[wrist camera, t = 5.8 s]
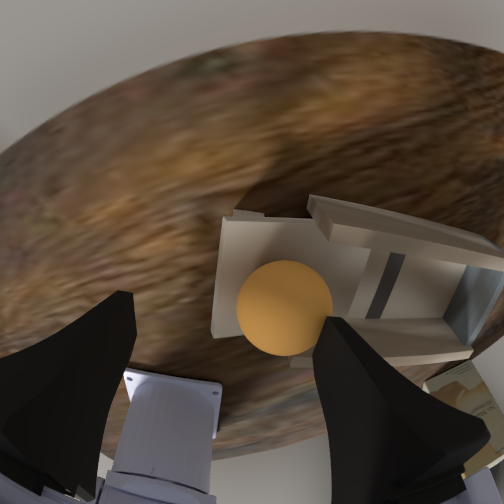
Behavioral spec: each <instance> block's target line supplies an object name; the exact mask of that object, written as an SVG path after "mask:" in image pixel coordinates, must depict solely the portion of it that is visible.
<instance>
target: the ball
mask: <svg viewBox="0 0 504 504" xmlns="http://www.w3.org/2000/svg"><path fill="white" fill-rule="evenodd" d="M236 311H237V318H238V322H239V325H240V328H241V330H242V332H243V333H244V335H245V336H246V338H247V339H248V340H249V341H250V342H251V343H252V344H253V345H254V346H256V347H257V348H258V349H260V350H262V351H264V352H266V353H269V354H273V355H279V356H290V355H295V354H299V353H302V352H304V351H306V350H308V349H310V348H311V347H313V346H314V345H315V344H316V343H317V340H318V338H319V335H320V333H321V330H322V327H323V325H324V322H325V319H326V317H327V316H332V311H333V306H332V297H331V294H330V291H329V288H328V286H327V284H326V283H325V281H324V280H323V279H322V277H321V276H320V275H319V274H318V273H317V272H316V271H315V270H313V269H312V268H310V267H308V266H307V265H305V264H302V263H299V262H295V261H289V260H281V261H274V262H271V263H268V264H265V265H263V266H261V267H260V268H258V269H257V270H255V271H254V272H253V273H252V274H251V275H250V276H249V277H248V278H247V279H246V281H245V282H244V284H243V285H242V287H241V289H240V292H239V295H238V298H237V307H236Z"/></svg>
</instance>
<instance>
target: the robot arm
mask: <svg viewBox="0 0 504 504" xmlns="http://www.w3.org/2000/svg"><path fill="white" fill-rule="evenodd" d="M136 336H137V330H136V321H135V311H134V300H133V293H131V292H125V291H119V290H118V291H116V292H115V293H113V294H112V295H110V296H109V297H108V298H106V299H105V300H104V301H102V302H101V303H99V304H98V305H97V306H95V307H94V308H93V309H91V310H90V311H88V312H87V313H86V314H84V315H83V316H81V317H80V318H78V319H77V320H75V321H74V322H72V323H71V324H69V325H68V326H66V327H65V328H63V329H62V330H60V331H58V332H57V333H55V334H53V335H52V336H50V337H48V338H46V339H44V340H42V341H41V342H39V343H37V344H35V345H32V346H30V347H28V348H25V349H23V350H21V351H19V352H16V353H14V354H11V355H8V356H6V357H3V358H0V504H216V496H213V495H209V489H210V472H211V456H212V440H213V439H214V438H215V437H216V431H217V424H218V417H219V410H220V403H221V396H222V385H221V384H220V383H217V382H208V381H200V380H193V379H186V378H180V377H173V376H167V375H162V374H156V373H151V372H146V371H141V370H136V369H131V368H126V367H127V364H128V362H129V360H130V357H131V354H132V351H133V347H134V344H135V340H136ZM312 359H313V369H314V377H315V381H316V385H317V389H318V393H319V397H320V401H321V405H322V409H323V413H324V417H325V421H326V425H327V431H328V438H329V447H330V457H331V471H332V473H331V474H332V502H331V504H503V503H502V500H501V498H500V495H499V492H498V489H497V487H496V484H495V482H494V479H493V478H492V475H491V472H490V470H489V467H484V468H483V469H481V470H479V471H477V472H476V473H474V474H472V475H470V476H468V477H467V478H465V479H464V480H463V478H462V475H461V474H463V473H464V472H465V467H464V465H463V464H464V463H465V462H467V461H468V460H469V459H470V458H472V457H473V456H474V455H475V454H476V453H478V452H479V451H480V450H481V449H482V448H483V447H484V446H485V445H486V444H487V443H488V442H489V440H490V438H491V434H490V432H489V430H488V428H487V426H486V424H485V422H484V421H483V419H482V418H479V417H476V416H474V415H471V414H468V413H466V412H463V411H461V410H458V409H456V408H454V407H452V406H450V405H448V404H446V403H444V402H442V401H440V400H439V399H437V398H435V397H433V396H432V395H430V394H429V393H427V392H425V391H424V390H422V389H421V388H419V387H418V386H416V385H415V384H414V383H412V382H411V381H410V380H408V379H407V378H406V377H404V376H403V375H402V374H400V373H399V372H398V371H397V370H396V369H395V368H393V367H392V366H391V365H390V364H389V363H388V362H387V361H386V360H384V359H383V358H382V357H381V356H380V355H379V354H378V353H377V352H376V351H375V350H374V349H373V348H372V347H371V346H370V345H369V344H368V343H367V342H366V341H365V340H364V339H363V338H362V337H361V336H360V335H359V334H358V333H357V332H356V331H355V330H354V329H353V328H352V327H351V326H350V325H349V324H348V323H347V322H346V321H345V320H344V319H343V318H342V317H333V316H327V317H326V319H325V322H324V325H323V327H322V330H321V333H320V335H319V338H318V340H317V343H316V346H315V348H314V351H313V353H312ZM123 375H124V379H125V383H126V387H127V391H128V394H129V398H130V402H131V403H130V406H129V409H128V413H127V416H126V419H125V423H124V426H123V430H122V433H121V437H120V440H119V444H118V447H117V451H116V455H115V459H114V463H113V466H112V470H108V471H107V475H106V479H104V478H101V477H97V470H98V462H99V455H100V449H101V444H102V439H103V434H104V429H105V425H106V421H107V417H108V413H109V409H110V406H111V404H112V401H113V398H114V396H115V393H116V391H117V388H118V386H119V384H120V381H121V379H122V376H123ZM65 494H66V495H68V496H71V497H73V498H77V499H79V500H80V501H78V500H76V499H73V498H71V497H68V496H66V495H65Z"/></svg>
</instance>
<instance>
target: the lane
mask: <svg viewBox="0 0 504 504" xmlns="http://www.w3.org/2000/svg"><path fill="white" fill-rule="evenodd" d="M306 209H307V210H308V212H309V213H310V215H311V216H312V218H313V219H305V218H280V217H264V213H259V212H252V211H245V210H237V209H233V216H223V220H222V228H221V237H220V245H219V254H218V263H217V272H216V281H215V291H214V300H213V311H212V321H211V333H212V336H213V339H215V338H224V337H232V336H240V335H244V333H243V332H242V330H241V328H240V325H239V322H238V318H237V311H236V307H237V298H238V295H239V292H240V289H241V287H242V285H243V284H244V282H245V281H246V279H247V278H248V277H249V276H250V275H251V274H252V273H253V272H254V271H255V270H257V269H258V268H260V267H261V266H263V265H265V264H268V263H271V262H274V261H281V260H289V261H295V262H299V263H302V264H305V265H307V266H308V267H310V268H312V269H313V270H315V271H316V272H317V273H318V274H319V275H320V276H321V277H322V279H323V280H324V281H325V283H326V284H327V286H328V288H329V291H330V294H331V297H332V306H333V311H332V316H333V317H342V318H343V319H344V320H345V321H346V322H347V323H348V324H349V325H350V326H351V327H352V328H353V329H354V330H355V331H356V332H357V333H358V334H359V335H360V336H361V337H362V338H363V339H364V340H365V341H366V342H367V343H368V344H369V345H370V346H371V347H372V348H373V349H374V350H375V351H376V352H377V353H378V354H379V355H380V356H381V357H382V358H383V359H384V360H386V361H387V362H388V363H389V364H390V365H391V366H407V365H419V364H429V363H438V362H447V361H454V360H462V359H468V358H469V357H470V355H471V354H472V352H473V351H474V350H473V348H472V347H471V345H472V343H473V341H474V340H475V338H476V337H477V335H478V333H479V332H480V330H481V328H482V326H483V325H484V323H485V321H486V319H487V318H488V316H489V314H490V312H491V310H492V308H493V306H494V304H495V302H496V300H497V298H498V296H499V294H500V292H501V290H502V288H503V286H504V251H503V250H502V249H501V248H499V247H498V246H496V245H495V244H493V243H492V242H491V241H489V240H488V239H486V238H485V237H483V236H482V235H480V234H476V233H473V232H470V231H466V230H463V229H459V228H456V227H452V226H449V225H445V224H441V223H438V222H434V221H430V220H426V219H422V218H418V217H414V216H410V215H406V214H402V213H398V212H393V211H389V210H385V209H380V208H376V207H371V206H367V205H362V204H357V203H352V202H347V201H342V200H337V199H332V198H327V197H321V196H316V195H309V199H308V204H307V208H306ZM315 346H316V344H315V345H314V346H313V347H311V348H310V349H308V350H306V351H304V352H302V353H299V354H295V355H290V356H288V361H289V367H299V368H313V359H312V353H313V351H314V348H315Z"/></svg>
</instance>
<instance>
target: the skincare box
mask: <svg viewBox="0 0 504 504" xmlns="http://www.w3.org/2000/svg"><path fill="white" fill-rule="evenodd" d="M422 390H424V391H425V392H427V393H429V394H430V395H432V396H433V397H435V398H437V399H439V400H440V401H442V402H444V403H446V404H448V405H450V406H452V407H454V408H456V409H458V410H461V411H463V412H466V413H468V414H471V415H474V416H476V417H479V418H482V419H483V421H484V422H485V424H486V426H487V428H488V430H489V432H490V434H491V438H490V440H489V442H488V443H487V444H486V445H485V446H484V447H483V448H482V449H481V450H480V451H479V452H478V453H476V454H475V455H474V456H473V457H472V458H470V459H469V460H468V461H467V462H465V463H464V464H463V465H464V467H465V472H464V473H463V474H461V475H462V478H463V480H464V479H465V478H467V477H468V476H470V475H472V474H474V473H476V472H477V471H479V470H481V469H483V468H484V467H489V469H490V468H491V467H493V466H494V465H496V464H497V463H499V462H500V461H501V460H503V459H504V416H503V414H502V412H501V410H500V408H499V406H498V405H497V403H496V401H495V399H494V398H493V396H492V394H491V393H490V391H489V389H488V387H487V386H486V384H485V382H484V381H483V379H482V378H481V376H480V375H479V373H478V371H477V369H476V368H475V366H474V365H473V363H472V362H471V360H468V361H466V362H464V363H462V364H460V365H458V366H456V367H454V368H452V369H450V370H448V371H446V372H444V373H442V374H440V375H438V376H436V377H433V378H431V379H429V380H427V381H425V382H424V385H423V389H422Z"/></svg>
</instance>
